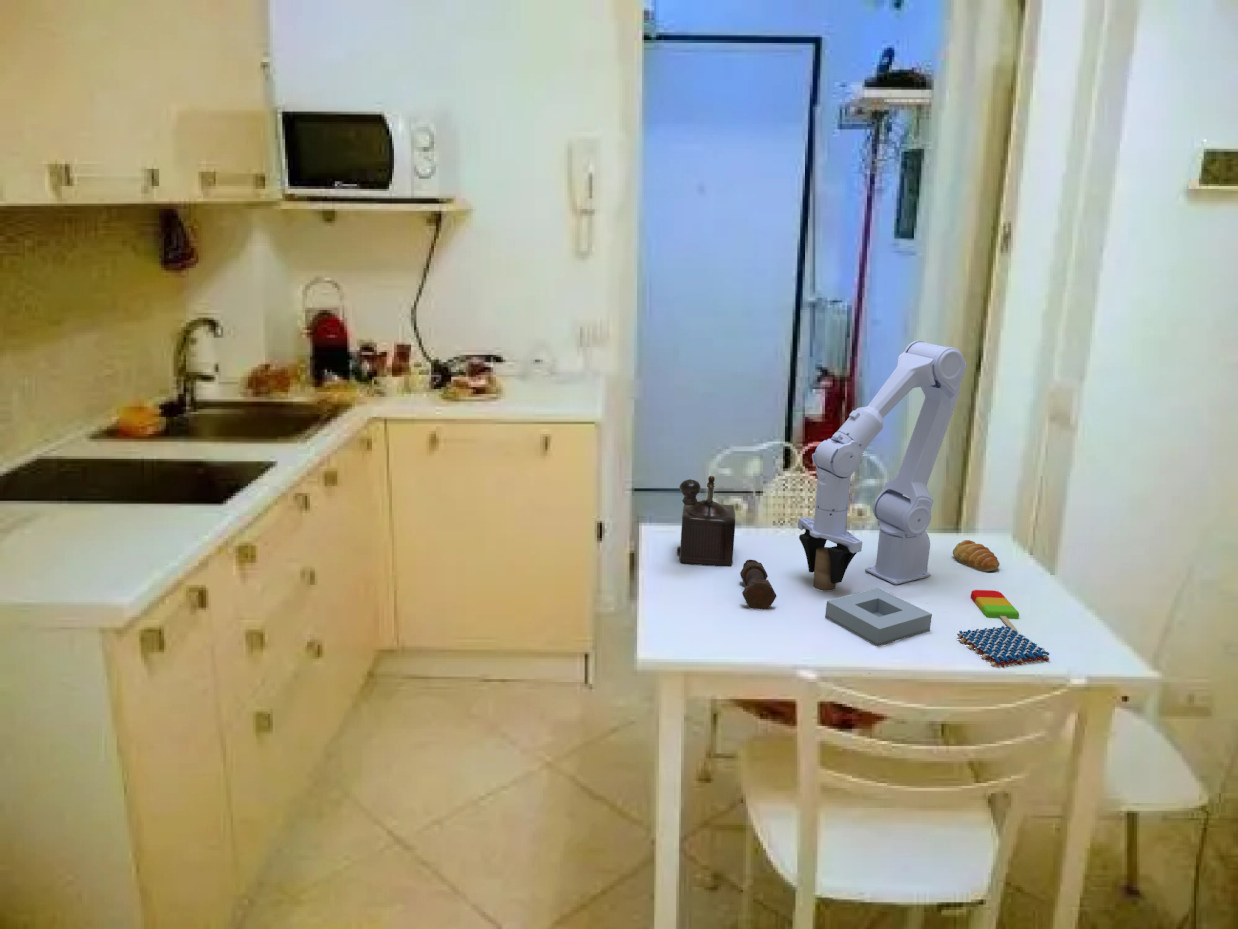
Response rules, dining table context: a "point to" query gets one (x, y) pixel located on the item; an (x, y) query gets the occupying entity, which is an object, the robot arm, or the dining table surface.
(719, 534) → the manual coffee grinder
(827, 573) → the peg
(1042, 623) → the dining table surface
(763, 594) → the bolt
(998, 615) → the popsicle
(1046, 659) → the woven mat
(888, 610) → the socket block
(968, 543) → the pastry
